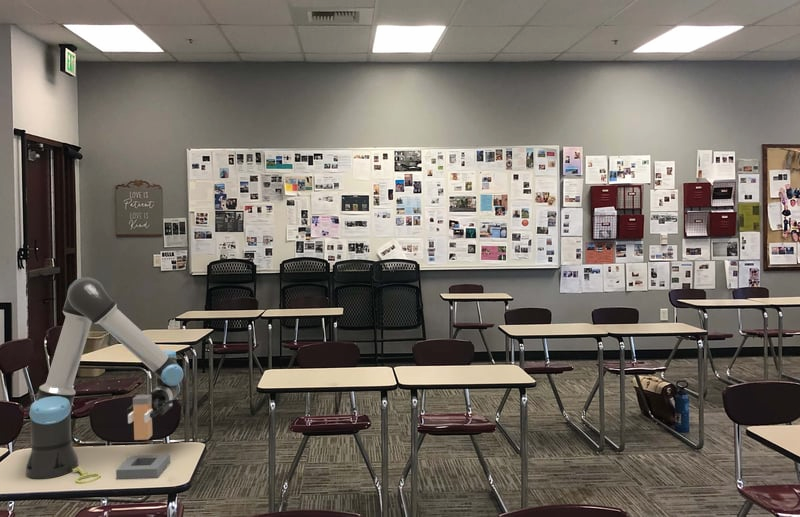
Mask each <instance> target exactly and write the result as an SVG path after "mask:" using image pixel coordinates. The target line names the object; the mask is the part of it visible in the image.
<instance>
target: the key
mask: <svg viewBox="0 0 800 517" xmlns="http://www.w3.org/2000/svg"><path fill="white" fill-rule="evenodd" d="M77 471H78V472H79V473H80V476H78V477H76V478H75V484H77V485H78V484H79V485H83V484H88V483H92V482H95V481H97V480H99V479H101V474H100V473H98V472H93V473H88V472H86V471H85V470H84V469H83V468H82V466H80V465H78V467H77V468H75V469H72V471H71V472H77ZM93 477H95V478H93ZM88 478H92V479H88ZM85 479H88V480H85Z"/></svg>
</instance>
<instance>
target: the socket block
mask: <svg viewBox="0 0 800 517" xmlns="http://www.w3.org/2000/svg"><path fill="white" fill-rule="evenodd" d="M168 464H169V465H170V464H171V454H170V453H160V454H159V453H154V454H153V453H151V454H131V455H129V457H127V459H126V460H125V461H124V462H123V463H122V464H120V466H118V468H117V469H116V470H115V473H116V474H115V475H116V476H115V478H116V480H129V479H130V480H131V479H135V480H136V479H159V477H160V476H161V474H162V473H164V471H165V470H166V468H167V467H168V466H169V465H168ZM167 465H168V466H167Z"/></svg>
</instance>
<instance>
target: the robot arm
mask: <svg viewBox="0 0 800 517" xmlns="http://www.w3.org/2000/svg"><path fill="white" fill-rule="evenodd" d="M68 286H69V287H68V289H67V295H66V299H65V300H64V301H65V302H64V306H63V308H62V313H63V315H64V316H65V318H64V322H63V325H62V328H61V332H60V335H59V338H58V341H57V345H56V348H55V351H54V355H53V357H52V362H51V365H50V369H49V372H48V373H47V374H48V375H47V379H46V381H45V383H43V384H41V385H40V386H39V388H38V391H37V395H36V398H35V400H34V402H32V403H31V405H30V408H29V417H30V422H29V423H30V441H31V442H30V443H31V451H30V454H29V458H28V462H27V464H26V469H25V470H26V471H25V473H26V477H27V478H30V479H41V480H42V479H51V478H56V477H61V476H63V475H67V474H68V473H72V472H73V471H72V469H75V468H77V467H78V466H79V458H78V455H77V454H76V452H75V449H74V447H73V444H72V419H71V418H72V417H71V416H72V415H71V410H72V406H73V403H74V399H75V396H76V390H75V389H74V383H75V380H76V376H77V373H78V370H79V367H80V364H81V363H80V362H81V360H82V356H83V352H84V349H85V348H86V347H85V346H86V343H87V339H88V336H89V333H90V329H91V326H92V323H93V324H94V325H100V326H101V327H102V328H103V329H104V330H106V331H107V332H108V333H109V334H110V335H111V336H112V337H113V338H114V339H116V340H117V341H118V342H119V343H120V344H121V345H122V346H123V347H125V348H126V349H127V351H129V352H131V354H133V355H134V356H135V357H136V358H137V359H139V361H141V363H143V364H144V365H145V366H146V367H147V368H148V369H149V370H150V371H152V373H153V374H155V388H154V389H153V390H152V391H151V392H149V393H148V395H151V394H152V401H151V403H152V409H150V410H149V411H148V412H147V413H146V414H145V415H144V423H147V422H148V421H149V420H150V419H151V418H152V419H153V418H155V417H157V416H158V415H159V416H164V415H165V413H167V412H168V411H169V410H170V409H172V408H173V400H175V399H176V398H177V396H178V395H179V393H180V391H181V390H180V389H181V387H180V383H181V382H182V380H183V379H184V370H183V368H182V367H181V366H180V365H179V364H178V362H177V358H178V357H177V353H176V351H175V350H163V349H161V348H160V347H159V345H157V344H156V343H155V342H154V341H153V340H152V339H151V338H150V337H149V336H148V335H147V334H145V333H144V332H143V330H141V329H140V328H139V327H138V326H137V325H136V324H135V323H133V322H132V320H131V319H129V317H127V316H126V315H125V314H124V313H123V312H122V311H121V310H120V309H118V307H117V304H118V303H116V302H115V301H114V299H112V298H111V297H110V295H109V294H108V293H107V291H106V290H105V288H104V286H103V284H102V283H101V282H100V281H99V280H98V279H96V278H92V277H88V276H85V277H80V278H77V279H75V280H73V282H71V283H70V285H68ZM126 416H127V424H132V423H133V422H134V412H133V403H132V404H131V405H130V406H129V407H127V408H126Z"/></svg>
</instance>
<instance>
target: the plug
mask: <svg viewBox="0 0 800 517" xmlns="http://www.w3.org/2000/svg"><path fill="white" fill-rule="evenodd" d="M151 401H152V394H151V395H149V394H137V395H135V396H134V397H133V398H132V404H133V412H134V421H133V438H134V441H139V440H140V441H144V440H147V441H148V440H149V439H150V438H151V437H152V436H153V418H151V419H150V420H149V421H148V422H147V423H144V415H145V414H146V413H147V412H148V411H149V410H150V409H152V403H151Z"/></svg>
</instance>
